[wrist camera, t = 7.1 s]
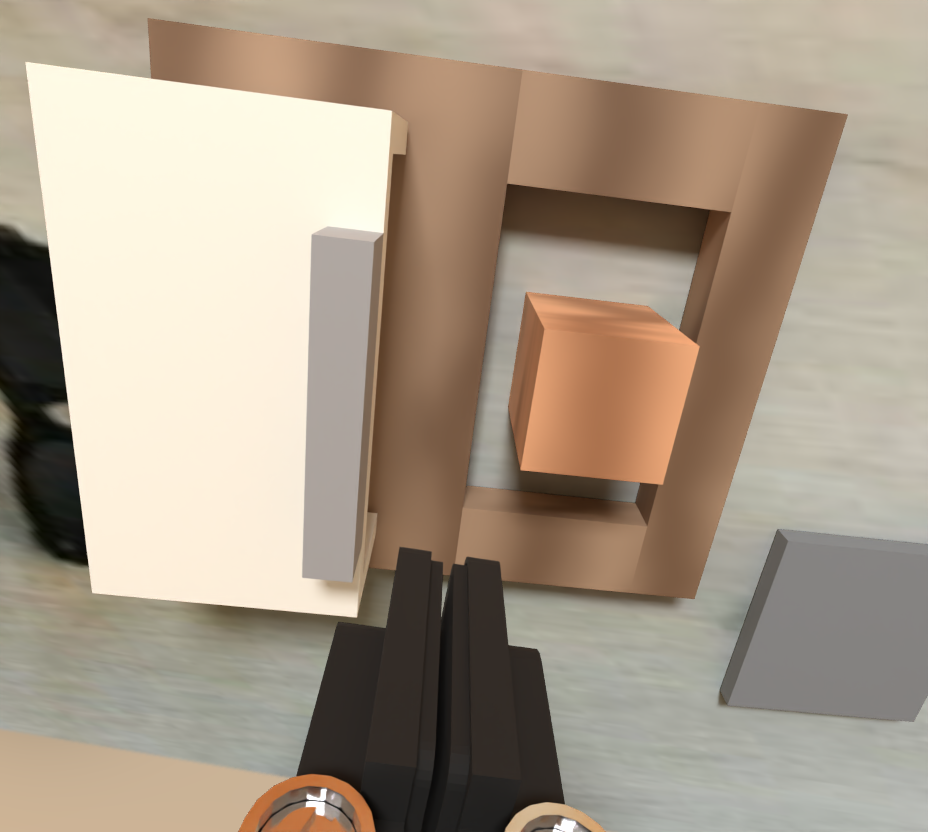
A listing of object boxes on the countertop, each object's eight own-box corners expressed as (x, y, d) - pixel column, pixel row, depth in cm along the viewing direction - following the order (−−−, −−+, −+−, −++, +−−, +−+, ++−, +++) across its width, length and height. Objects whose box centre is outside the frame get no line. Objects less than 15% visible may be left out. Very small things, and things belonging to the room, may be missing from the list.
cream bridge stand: (408, 122, 21) (382, 103, 14) (375, 533, 27) (347, 659, 20) (130, 85, 20) (-35, 48, 14) (161, 512, 26) (57, 633, 20)
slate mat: (901, 706, 34) (913, 721, 33) (719, 690, 33) (727, 705, 32) (980, 550, 30) (997, 562, 29) (777, 529, 29) (788, 541, 29)
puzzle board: (816, 118, 23) (848, 114, 21) (680, 572, 30) (694, 598, 29) (174, 30, 22) (147, 18, 20) (197, 524, 29) (179, 549, 27)
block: (647, 306, 26) (699, 346, 20) (621, 418, 27) (662, 484, 22) (525, 291, 25) (544, 328, 20) (508, 406, 27) (520, 470, 22)
